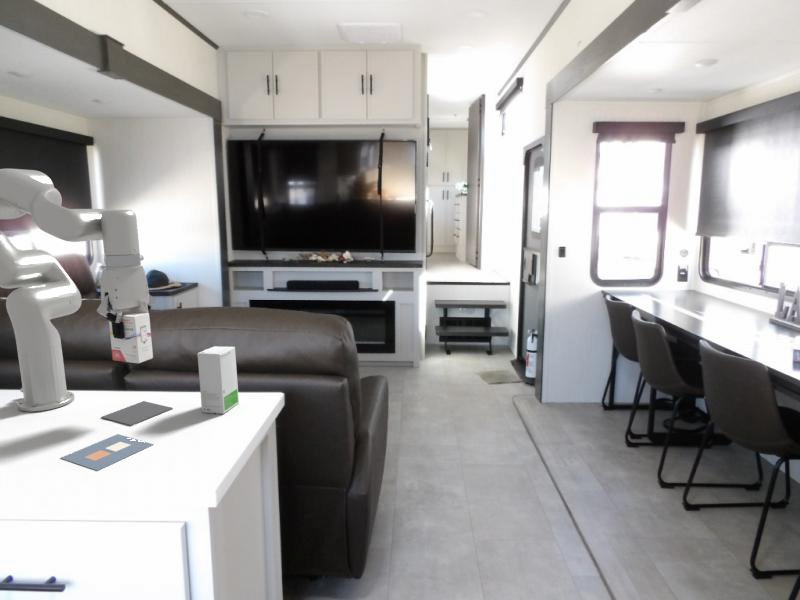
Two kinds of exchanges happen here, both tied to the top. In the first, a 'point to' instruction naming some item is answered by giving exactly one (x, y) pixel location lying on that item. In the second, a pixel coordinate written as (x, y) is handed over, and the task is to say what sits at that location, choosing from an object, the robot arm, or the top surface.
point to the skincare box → (218, 379)
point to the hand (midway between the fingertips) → (130, 334)
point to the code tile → (106, 452)
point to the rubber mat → (137, 413)
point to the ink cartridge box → (133, 336)
